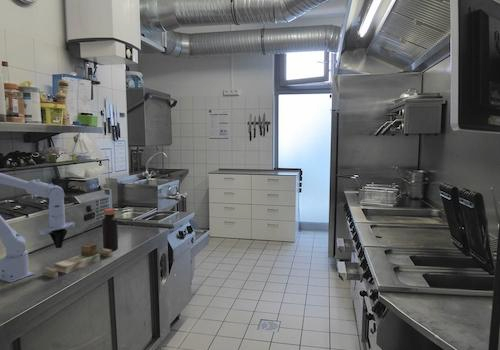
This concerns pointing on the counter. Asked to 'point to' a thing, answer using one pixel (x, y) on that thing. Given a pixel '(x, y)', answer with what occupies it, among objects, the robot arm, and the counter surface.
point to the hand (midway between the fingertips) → (58, 247)
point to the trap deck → (75, 263)
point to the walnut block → (88, 250)
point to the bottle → (110, 230)
